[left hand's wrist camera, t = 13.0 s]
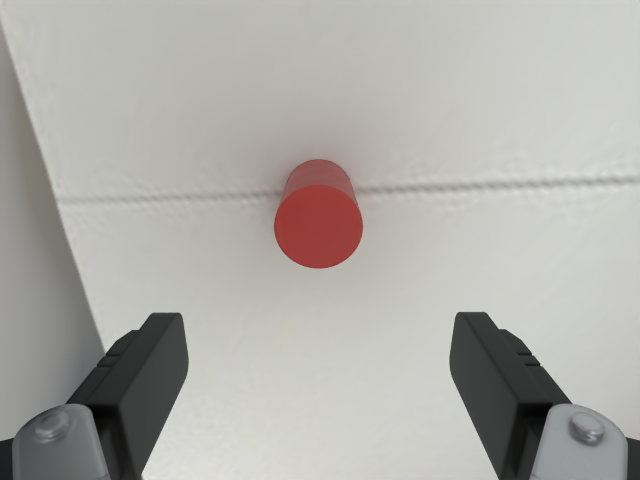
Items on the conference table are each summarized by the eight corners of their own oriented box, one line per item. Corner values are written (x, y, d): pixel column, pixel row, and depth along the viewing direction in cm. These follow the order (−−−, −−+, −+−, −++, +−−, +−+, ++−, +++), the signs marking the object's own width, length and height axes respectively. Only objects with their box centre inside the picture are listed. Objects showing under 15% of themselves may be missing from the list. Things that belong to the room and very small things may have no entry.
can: (327, 235, 29) (329, 283, 22) (273, 201, 28) (257, 239, 21) (365, 184, 27) (380, 217, 20) (309, 145, 26) (306, 167, 19)
